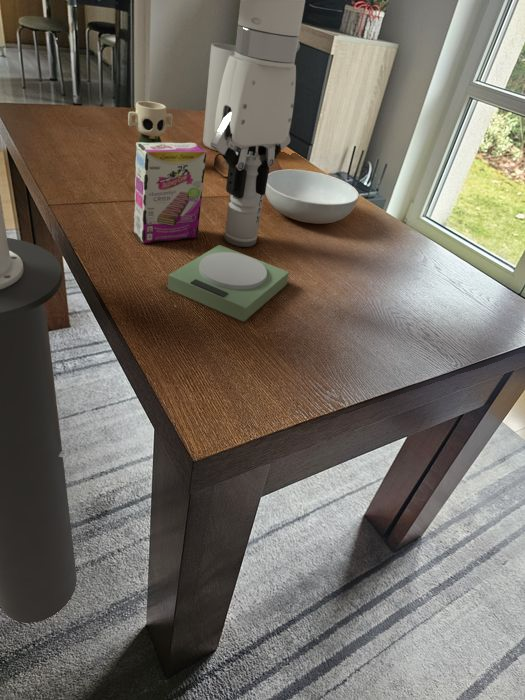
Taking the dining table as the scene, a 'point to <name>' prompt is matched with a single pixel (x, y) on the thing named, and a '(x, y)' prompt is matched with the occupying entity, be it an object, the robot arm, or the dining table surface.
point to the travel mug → (243, 222)
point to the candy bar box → (168, 190)
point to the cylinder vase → (215, 87)
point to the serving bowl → (310, 196)
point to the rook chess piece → (248, 188)
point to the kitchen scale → (228, 282)
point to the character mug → (150, 120)
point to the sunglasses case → (223, 166)
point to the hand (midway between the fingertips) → (245, 192)
